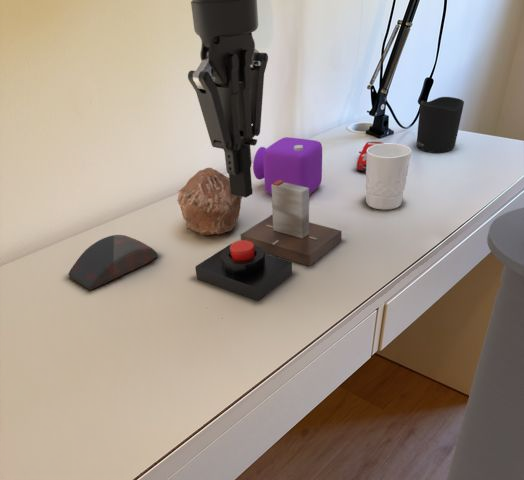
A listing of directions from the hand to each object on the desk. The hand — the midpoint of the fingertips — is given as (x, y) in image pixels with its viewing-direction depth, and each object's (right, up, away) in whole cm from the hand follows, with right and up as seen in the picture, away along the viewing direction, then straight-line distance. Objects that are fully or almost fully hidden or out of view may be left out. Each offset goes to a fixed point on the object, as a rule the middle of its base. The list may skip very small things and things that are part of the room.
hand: (241, 193), depth 74 cm
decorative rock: (-6, +1, +23) cm, 24 cm away
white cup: (+26, +6, +27) cm, 39 cm away
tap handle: (+8, -2, +15) cm, 17 cm away
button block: (0, -11, +8) cm, 13 cm away
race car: (+27, +20, +44) cm, 56 cm away
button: (0, -8, +6) cm, 10 cm away
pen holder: (+44, +26, +51) cm, 72 cm away
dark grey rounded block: (-21, -9, +13) cm, 26 cm away
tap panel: (+8, -4, +16) cm, 18 cm away
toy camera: (+8, +11, +35) cm, 37 cm away
